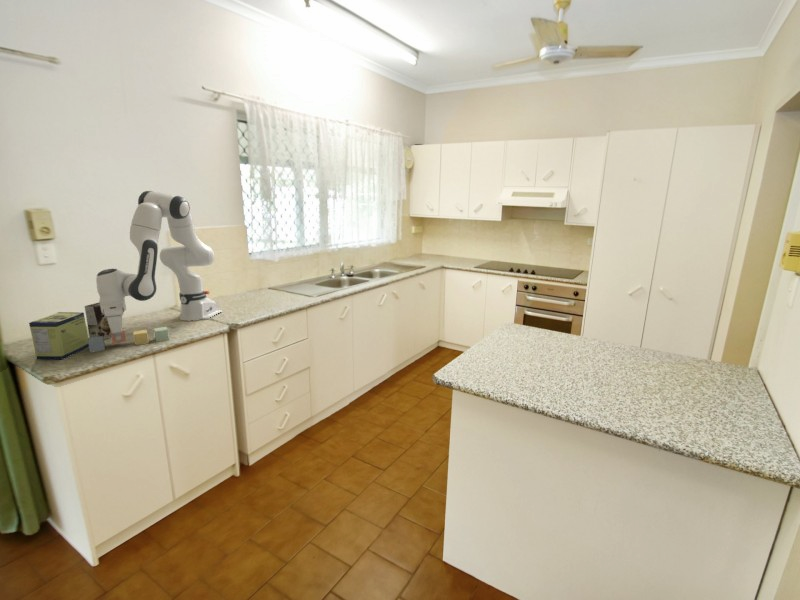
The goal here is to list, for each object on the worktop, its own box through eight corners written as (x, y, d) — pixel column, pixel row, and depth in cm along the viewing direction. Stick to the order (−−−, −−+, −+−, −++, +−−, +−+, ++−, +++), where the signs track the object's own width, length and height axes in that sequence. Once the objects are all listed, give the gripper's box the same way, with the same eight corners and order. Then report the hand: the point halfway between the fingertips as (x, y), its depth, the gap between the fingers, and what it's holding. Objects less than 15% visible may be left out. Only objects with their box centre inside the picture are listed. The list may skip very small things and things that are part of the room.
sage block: (167, 336, 189) (166, 326, 187) (168, 339, 185) (167, 329, 184) (155, 338, 186) (153, 328, 185) (156, 341, 182) (155, 331, 181)
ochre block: (147, 340, 184) (146, 329, 183) (148, 343, 180) (147, 332, 179) (134, 342, 181) (133, 331, 180) (135, 345, 177) (133, 334, 176)
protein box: (90, 346, 175) (84, 311, 172) (62, 360, 160) (55, 322, 156) (66, 345, 175) (59, 311, 171) (35, 359, 160) (27, 322, 156)
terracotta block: (125, 338, 180) (124, 327, 178) (126, 341, 176) (124, 330, 174) (112, 340, 177) (110, 329, 176) (112, 343, 173) (110, 333, 172)
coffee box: (101, 341, 181) (95, 306, 177) (89, 340, 182) (83, 305, 178) (118, 334, 190) (113, 301, 186) (107, 333, 191) (101, 300, 187)
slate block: (104, 346, 175) (102, 335, 174) (104, 350, 171) (102, 339, 170) (90, 349, 172) (88, 338, 171) (90, 352, 168) (88, 341, 167)
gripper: (104, 302, 179) (109, 331, 182) (104, 314, 163) (109, 345, 166) (121, 300, 182) (126, 329, 186) (122, 311, 166) (128, 343, 170)
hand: (118, 337), depth 176 cm, fingers closed on terracotta block, 5 cm apart
